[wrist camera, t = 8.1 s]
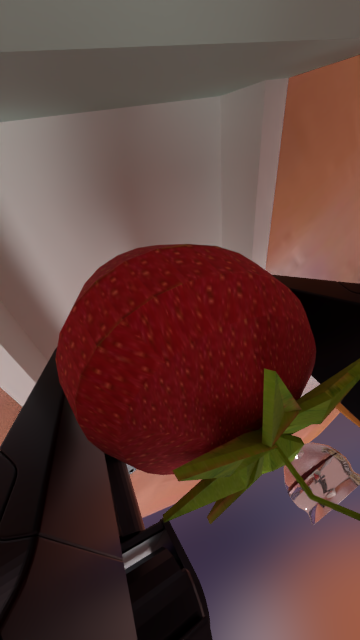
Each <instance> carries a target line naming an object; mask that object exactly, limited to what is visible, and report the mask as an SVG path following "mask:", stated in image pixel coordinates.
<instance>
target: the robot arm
mask: <svg viewBox="0 0 360 640" xmlns="http://www.w3.org/2000/svg"><path fill="white" fill-rule="evenodd" d="M272 276H274V277H275V278H276V279H278V280H279V281H280V282H281V283H283V284H284V285H285V286H287V287H288V288H289V289H290V290H291V291H292V292H293V293H294V294H295V295H296V297H297V298H298V299H299V300H300V302H301V304H302V306H303V308H304V310H305V312H306V315H307V318H308V321H309V324H310V327H311V330H312V333H313V337H314V340H315V346H316V358H315V364H314V367H313V370H312V374H311V375H312V376H313V377H314V378H315V379H316V380H317V381H318V382H319V383H320V384H322V383H323V382H325V381H326V380H328V379H329V378H331V377H332V376H334V375H335V374H337V373H338V372H340V371H341V370H343V369H344V368H346V367H347V366H349V365H350V364H352V363H353V362H355V361H356V360H358V359H359V358H360V284H357V283H347V282H336V281H327V280H318V279H308V278H299V277H289V276H279V275H272ZM56 352H57V347H56V349H55V350H54V352H53V354H52V356H51V357H50V359H49V361H48V363H47V364H46V366H45V368H44V370H43V372H42V373H41V375H40V377H39V379H38V380H37V382H36V384H35V386H34V388H33V389H32V391H31V393H30V395H29V396H28V398H27V400H26V402H25V404H24V405H23V407H22V409H21V411H20V413H19V414H18V416H17V418H16V420H15V421H14V423H13V425H12V427H11V429H10V430H9V432H8V434H7V436H6V437H5V439H4V441H3V443H2V445H1V446H0V450H1V451H0V640H212V635H211V630H210V618H209V612H208V608H207V603H206V599H205V596H204V593H203V589H202V587H201V584H200V582H199V579H198V577H197V575H196V573H195V571H194V569H193V567H192V565H191V563H190V561H189V559H188V557H187V555H186V553H185V551H184V549H183V547H182V545H181V543H180V541H179V540H178V538H177V536H176V534H175V532H174V530H173V528H172V526H171V524H170V522H169V521H167V522H165V523H164V519H163V518H162V519H161V520H160V521H159V522H158V523H156V524H154V525H152V526H150V527H149V528H147V529H145V527H144V524H143V520H142V517H141V513H140V510H139V506H138V503H137V499H136V496H135V492H134V489H133V486H132V482H131V479H130V474H131V473H133V472H134V471H135V470H136V468H134V467H132V466H130V465H128V464H126V463H124V462H122V461H120V460H118V459H116V458H114V457H112V456H110V455H108V454H106V453H104V452H102V451H101V450H100V449H98V448H97V447H96V446H94V445H93V444H92V443H91V442H89V441H88V439H87V438H86V436H85V434H84V433H83V431H82V429H81V427H80V426H79V424H78V422H77V420H76V418H75V415H74V413H73V411H72V409H71V406H70V404H69V402H68V400H67V398H66V395H65V393H64V391H63V389H62V387H61V384H60V382H59V376H58V371H57V365H56V360H55V359H56ZM340 403H341V404H342V405H343V406H344V407H345V408H346V409H347V410H348V411H349V412H350V413H351V414H352V415H353V416H355V417H356V418H357V419H358V420H359V421H360V380H359V381H358V382H357V383H356V384H355V385H354V386H353V388H352V389H351V390H350V391H349V392H348V393H347V394H346V396H345V397H344V398H343V399H342V400H341V401H340ZM150 553H151V554H150ZM147 555H148V556H147ZM145 556H146V557H145ZM142 558H143V559H142ZM139 560H140V561H139ZM137 561H138V562H137ZM134 563H135V564H134ZM131 565H132V566H131ZM129 566H130V567H129ZM126 568H127V569H126Z"/></svg>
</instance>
